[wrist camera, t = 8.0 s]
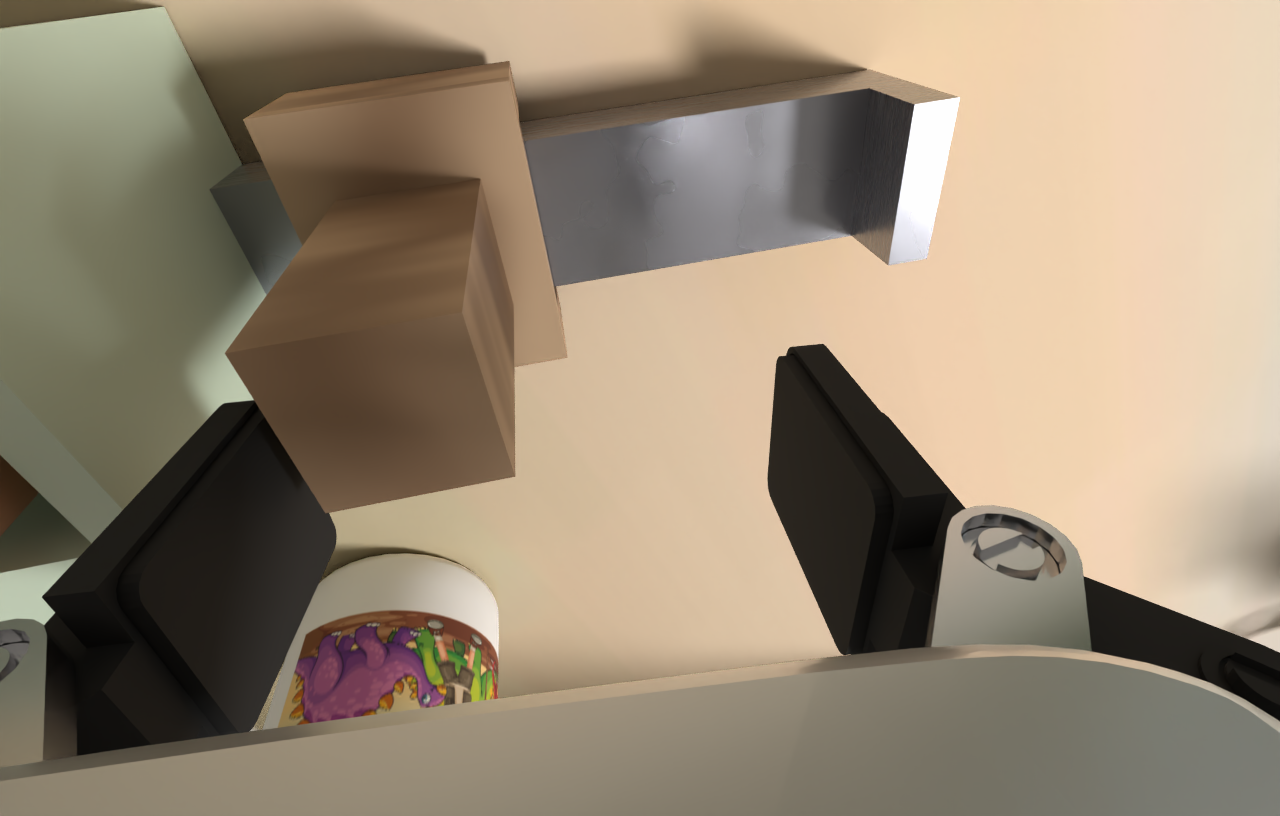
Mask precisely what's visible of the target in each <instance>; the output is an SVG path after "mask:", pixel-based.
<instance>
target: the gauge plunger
mask: <svg viewBox="0 0 1280 816" xmlns="http://www.w3.org/2000/svg"><path fill="white" fill-rule="evenodd" d="M38 493H39V492H38V491H37V490H36V489H35V488H34V487H33V486H32V485H31V484H30V483H29V482H28V481H27V480H26V479H24V478H23V477H22V476H21V475H20V474H19V473H18V472H17V471H16V470H15V469H14V468H13V467H12V466H11V465H10V464H9V463H8V462H7V461H6V460H5V459H4V458H3V457H2V456H1V455H0V536H1V535H2V534H3V533H4V532H5V531H6V530H7V528H8V527H9V526H10V525H11V524H12V523H13V522H14V520H15V519H16V518H17V517H18V516H19V515H20V514H21V513H22V511H23V510H24V509H25V508H26V507H27V506H28V505H29V503H30V502H31V501H32V500H33V499H34V498H35V497H36V496H37V494H38Z"/></svg>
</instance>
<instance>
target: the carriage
mask: <svg viewBox="0 0 1280 816" xmlns="http://www.w3.org/2000/svg"><path fill="white" fill-rule="evenodd" d="M243 121H244V123H245V125H246V127H247V130H248V132H249V134H250V136H251V138H252V140H253V142H254V144H255V146H256V149H257V151H258V153H259V155H260V157H261V159H262V161H263V163H264V165H265V168H266V170H267V172H268V174H269V176H270V178H271V180H272V182H273V184H274V187H275V189H276V191H277V193H278V195H279V197H280V199H281V201H282V204H283V206H284V208H285V210H286V212H287V214H288V216H289V218H290V220H291V223H292V225H293V227H294V229H295V231H296V233H297V235H298V237H299V239H300V242H301V244H302V247H301V249H300V250H299V251H298V253H297V254H296V256H295V257H294V258H293V260H292V261H291V262H290V264H289V265H288V267H287V268H286V269H285V271H284V272H283V273H282V275H281V276H280V278H279V279H278V280H277V282H276V283H275V284H274V286H273V287H272V289H271V290H270V291H269V293H268V294H267V295H266V297H265V298H264V300H263V301H262V302H261V304H260V305H259V307H258V308H257V309H256V311H255V312H254V313H253V315H252V316H251V318H250V319H249V320H248V322H247V323H246V324H245V326H244V327H243V329H242V330H241V331H240V333H239V334H238V335H237V337H236V338H235V340H234V341H233V342H232V344H231V345H230V346H229V348H228V349H227V351H226V352H225V355H226V356H227V358H228V359H229V361H230V363H231V364H232V366H233V367H234V369H235V371H236V372H237V374H238V375H239V377H240V379H241V380H242V382H243V383H244V385H245V386H246V388H247V390H248V391H249V393H250V394H251V396H252V398H253V399H254V401H255V402H256V404H257V405H258V407H259V409H260V410H261V412H262V413H263V415H264V417H265V418H266V420H267V421H268V423H269V424H270V426H271V428H272V429H273V431H274V432H275V434H276V436H277V437H278V439H279V440H280V442H281V444H282V445H283V447H284V448H285V450H286V451H287V453H288V455H289V456H290V458H291V459H292V461H293V463H294V464H295V466H296V467H297V469H298V470H299V472H300V474H301V475H302V477H303V478H304V480H305V482H306V483H307V485H308V486H309V488H310V490H311V491H312V493H313V494H314V496H315V497H316V499H317V501H318V502H319V504H320V505H321V507H322V509H323V510H324V512H325V513H330V512H335V511H340V510H345V509H350V508H355V507H361V506H366V505H371V504H376V503H381V502H386V501H391V500H397V499H402V498H407V497H412V496H417V495H422V494H427V493H433V492H438V491H443V490H448V489H453V488H458V487H464V486H469V485H474V484H479V483H484V482H489V481H494V480H500V479H505V478H510V477H515V387H514V367H518V366H523V365H529V364H534V363H540V362H545V361H551V360H556V359H562V358H567V350H566V343H565V336H564V329H563V322H562V315H561V308H560V303H559V298H558V293H557V288H556V286H555V287H554V284H553V280H552V275H551V270H550V265H549V261H548V256H547V251H546V246H545V242H544V237H543V232H542V227H541V222H540V218H539V213H538V208H537V203H536V199H535V194H534V189H533V184H532V180H531V175H530V170H529V165H528V161H527V156H526V151H525V146H524V142H523V137H522V132H521V127H520V123H519V111H518V101H517V96H516V91H515V86H514V81H513V77H512V72H511V67H510V62H509V61H506V62H499V63H492V64H485V65H478V66H471V67H464V68H457V69H450V70H443V71H436V72H430V73H423V74H416V75H409V76H402V77H395V78H388V79H381V80H374V81H367V82H360V83H353V84H346V85H339V86H332V87H325V88H318V89H311V90H304V91H297V92H290V93H286V94H284V95H283V96H281V97H279V98H278V99H276V100H274V101H273V102H271V103H269V104H268V105H266V106H264V107H263V108H261V109H259V110H258V111H256V112H254V113H253V114H251V115H249V116H248V117H246V118H244V119H243Z"/></svg>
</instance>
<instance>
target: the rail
mask: <svg viewBox="0 0 1280 816" xmlns="http://www.w3.org/2000/svg"><path fill="white" fill-rule="evenodd" d="M959 99H960V97H957V96H953V95H950V94H947V93H944V92H940V91H937V90H934V89H931V88H928V87H924V86H921V85H918V84H915V83H911V82H908V81H905V80H902V79H898V78H895V77H892V76H889V75H885V74H882V73H879V72H876V71H873V70H863V71H857V72H850V73H844V74H837V75H830V76H824V77H817V78H810V79H804V80H797V81H791V82H784V83H777V84H771V85H764V86H757V87H751V88H744V89H738V90H731V91H724V92H718V93H711V94H704V95H698V96H691V97H685V98H678V99H671V100H665V101H658V102H651V103H645V104H638V105H632V106H625V107H618V108H612V109H605V110H598V111H592V112H585V113H579V114H572V115H565V116H559V117H552V118H545V119H539V120H532V121H526V122H519V123H520V127H521V132H522V137H523V142H524V146H525V151H526V156H527V161H528V165H529V170H530V175H531V180H532V184H533V189H534V194H535V199H536V203H537V208H538V213H539V218H540V222H541V227H542V232H543V237H544V242H545V246H546V251H547V256H548V261H549V265H550V270H551V275H552V280H553V284H554V287H555V286H561V285H567V284H573V283H578V282H584V281H590V280H596V279H602V278H608V277H613V276H619V275H625V274H631V273H637V272H642V271H648V270H654V269H660V268H666V267H672V266H677V265H683V264H689V263H695V262H701V261H706V260H712V259H718V258H724V257H730V256H736V255H741V254H747V253H753V252H759V251H765V250H771V249H776V248H782V247H788V246H794V245H800V244H805V243H811V242H817V241H823V240H829V239H835V238H840V237H846V236H853V237H854V238H855V239H856V240H858V241H859V242H860V243H861V244H863V245H864V246H865V247H866V248H868V249H869V250H870V251H871V252H872V253H874V254H875V255H876V256H877V257H879V258H880V259H881V260H882V261H884V262H885V263H886V264H887V265H893V264H899V263H905V262H910V261H916V260H922V259H927V255H928V250H929V245H930V241H931V236H932V231H933V226H934V221H935V216H936V211H937V207H938V202H939V197H940V192H941V187H942V182H943V177H944V172H945V168H946V163H947V158H948V153H949V148H950V143H951V138H952V133H953V129H954V124H955V119H956V114H957V109H958V104H959ZM209 190H210V192H211V193H212V195H213V197H214V199H215V201H216V203H217V205H218V206H219V208H220V210H221V212H222V214H223V216H224V217H225V219H226V221H227V223H228V225H229V227H230V229H231V230H232V232H233V234H234V236H235V238H236V240H237V241H238V243H239V245H240V247H241V249H242V251H243V253H244V254H245V256H246V258H247V260H248V262H249V264H250V266H251V267H252V269H253V271H254V273H255V275H256V277H257V278H258V280H259V282H260V284H261V286H262V288H263V290H264V291H265V293H266V295H267V294H268V293H269V291H270V290H271V289H272V287H273V286H274V284H275V283H276V282H277V280H278V279H279V278H280V276H281V275H282V273H283V272H284V271H285V269H286V268H287V267H288V265H289V264H290V262H291V261H292V260H293V258H294V257H295V256H296V254H297V253H298V251H299V250H300V249H301V247H302V244H301V242H300V239H299V237H298V235H297V233H296V231H295V229H294V227H293V225H292V223H291V220H290V218H289V216H288V214H287V212H286V210H285V208H284V206H283V204H282V201H281V199H280V197H279V195H278V193H277V191H276V189H275V187H274V184H273V182H272V180H271V178H270V176H269V174H268V172H267V170H266V168H265V165H264V163H263V161H261V162H254V163H247V164H242V165H241V166H239V167H238V168H237V169H235V170H234V171H233V172H231V173H230V174H229V175H227V176H226V177H225V178H224V179H222V180H221V181H220V182H218V183H217V184H216V185H214V186H213V187H212V188H210V189H209Z"/></svg>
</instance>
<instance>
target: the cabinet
mask: <svg viewBox="0 0 1280 816" xmlns="http://www.w3.org/2000/svg"><path fill="white" fill-rule="evenodd" d="M241 165H242V163H241V161H240V159H239V157H238V155H237V153H236V151H235V149H234V147H233V145H232V143H231V141H230V139H229V137H228V135H227V133H226V131H225V129H224V127H223V125H222V123H221V121H220V119H219V117H218V114H217V112H216V110H215V108H214V106H213V104H212V102H211V100H210V98H209V96H208V94H207V92H206V90H205V88H204V86H203V84H202V82H201V80H200V78H199V76H198V74H197V72H196V70H195V68H194V66H193V64H192V62H191V60H190V58H189V56H188V54H187V52H186V50H185V48H184V46H183V44H182V42H181V40H180V38H179V36H178V34H177V32H176V30H175V28H174V26H173V24H172V22H171V19H170V17H169V15H168V13H167V11H166V9H165V7H157V8H150V9H142V10H135V11H127V12H119V13H112V14H104V15H96V16H89V17H81V18H73V19H66V20H58V21H51V22H43V23H35V24H28V25H20V26H12V27H5V28H0V455H1V456H2V457H3V458H4V459H5V460H6V461H7V462H8V463H9V464H10V465H11V466H12V467H13V468H14V469H15V470H16V471H17V472H18V473H19V474H20V475H21V476H22V477H23V478H24V479H26V480H27V481H28V482H29V483H30V484H31V485H32V486H33V487H34V488H35V489H36V490H37V491H38V492H39V493H38V494H37V496H36V497H35V498H34V499H33V500H32V501H31V502H30V503H29V505H28V506H27V507H26V508H25V509H24V510H23V511H22V513H21V514H20V515H19V516H18V517H17V518H16V519H15V520H14V522H13V523H12V524H11V525H10V526H9V527H8V528H7V530H6V531H5V532H4V533H3V534H2V535H1V536H0V622H1V621H6V620H11V619H16V618H17V619H34V620H36V621H38V622H39V623H41V624H43V625H45V624H46V622H47V621H48V620H49V619H50V618H51V617H52V616H53V614H54V613H55V612H54V611H53V610H52V609H51V607H50V606H49V605H48V604H47V603H46V602H45V601H44V599H43V598H42V596H43V595H44V594H45V593H46V592H47V591H48V590H49V589H50V587H51V586H52V585H53V584H54V583H55V582H56V581H57V580H58V579H59V578H60V577H61V576H62V575H63V574H64V572H65V571H66V570H67V569H68V568H69V567H70V566H71V565H72V564H73V563H74V562H75V561H76V560H77V559H78V557H79V556H80V555H81V554H82V553H83V552H84V551H85V550H86V549H87V548H88V547H89V546H90V545H91V544H92V542H93V541H94V540H95V539H96V538H97V537H98V536H99V535H100V534H101V533H102V532H103V531H104V530H105V529H106V527H107V526H108V525H109V524H110V523H111V522H112V521H113V520H114V519H115V518H116V517H117V516H118V515H119V514H120V512H121V511H122V510H123V509H124V508H125V507H126V506H127V505H128V504H129V503H130V502H131V501H132V500H133V499H134V497H135V496H136V495H137V494H138V493H139V492H140V491H141V490H142V489H143V488H144V487H145V486H146V485H147V484H148V482H149V481H150V480H151V479H152V478H153V477H154V476H155V475H156V474H157V473H158V472H159V471H160V470H161V469H162V467H163V466H164V465H165V464H166V463H167V462H168V461H169V460H170V459H171V458H172V457H173V456H174V455H175V454H176V452H177V451H178V450H179V449H180V448H181V447H182V446H183V445H184V444H185V443H186V442H187V441H188V440H189V439H190V437H191V436H192V435H193V434H194V433H195V432H196V431H197V430H198V429H199V428H200V427H201V426H202V425H203V424H204V422H205V421H206V420H207V419H208V418H209V417H210V416H211V415H212V414H213V413H214V412H215V411H216V410H217V409H218V407H219V406H221V405H222V404H224V403H230V402H240V401H250V400H254V399H253V398H252V396H251V394H250V393H249V391H248V390H247V388H246V386H245V385H244V383H243V382H242V380H241V379H240V377H239V375H238V374H237V372H236V371H235V369H234V367H233V366H232V364H231V363H230V361H229V359H228V358H227V356H226V355H225V352H226V351H227V349H228V348H229V346H230V345H231V344H232V342H233V341H234V340H235V338H236V337H237V335H238V334H239V333H240V331H241V330H242V329H243V327H244V326H245V324H246V323H247V322H248V320H249V319H250V318H251V316H252V315H253V313H254V312H255V311H256V309H257V308H258V307H259V305H260V304H261V302H262V301H263V300H264V298H265V297H266V293H265V291H264V290H263V288H262V286H261V284H260V282H259V280H258V278H257V277H256V275H255V273H254V271H253V269H252V267H251V266H250V264H249V262H248V260H247V258H246V256H245V254H244V253H243V251H242V249H241V247H240V245H239V243H238V241H237V240H236V238H235V236H234V234H233V232H232V230H231V229H230V227H229V225H228V223H227V221H226V219H225V217H224V216H223V214H222V212H221V210H220V208H219V206H218V205H217V203H216V201H215V199H214V197H213V195H212V193H211V192H210V190H209V189H210V188H212V187H213V186H214V185H216V184H217V183H218V182H220V181H221V180H222V179H224V178H225V177H226V176H227V175H229V174H230V173H231V172H233V171H234V170H235V169H237V168H238V167H239V166H241Z"/></svg>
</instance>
